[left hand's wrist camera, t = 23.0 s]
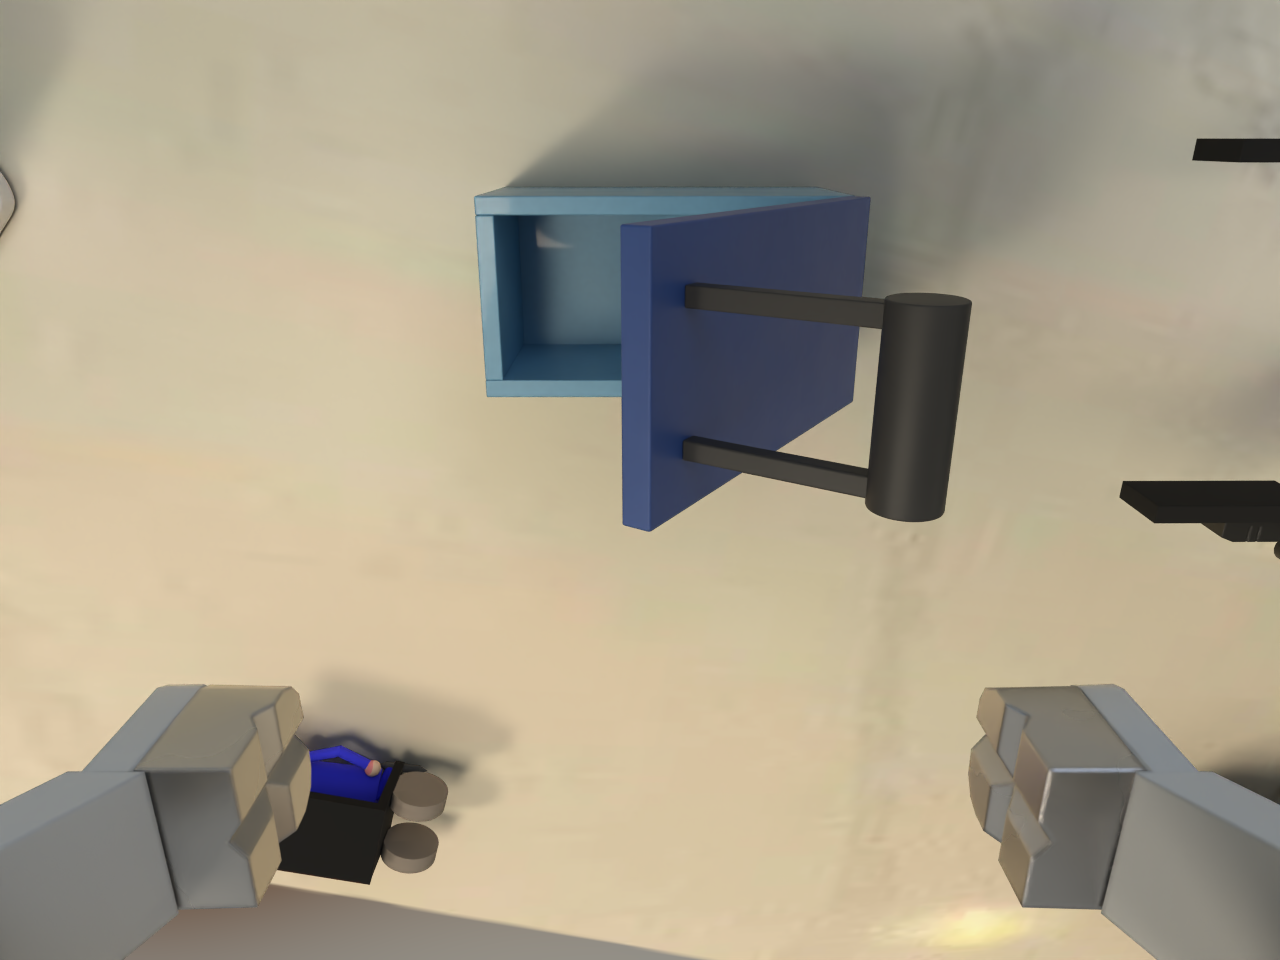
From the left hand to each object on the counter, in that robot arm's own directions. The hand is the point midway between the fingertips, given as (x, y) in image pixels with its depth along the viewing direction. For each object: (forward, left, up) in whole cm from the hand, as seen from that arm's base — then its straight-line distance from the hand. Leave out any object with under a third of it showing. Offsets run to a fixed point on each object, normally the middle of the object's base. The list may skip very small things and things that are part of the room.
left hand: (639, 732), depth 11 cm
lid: (+2, -4, -24) cm, 25 cm away
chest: (0, -1, -42) cm, 42 cm away
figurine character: (-40, 0, -42) cm, 57 cm away
